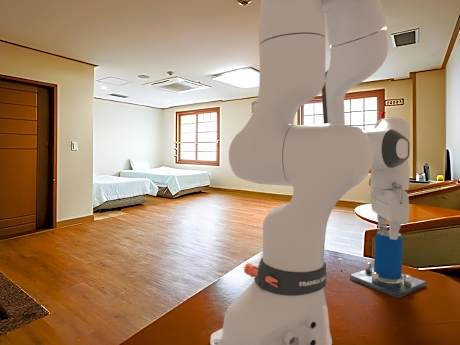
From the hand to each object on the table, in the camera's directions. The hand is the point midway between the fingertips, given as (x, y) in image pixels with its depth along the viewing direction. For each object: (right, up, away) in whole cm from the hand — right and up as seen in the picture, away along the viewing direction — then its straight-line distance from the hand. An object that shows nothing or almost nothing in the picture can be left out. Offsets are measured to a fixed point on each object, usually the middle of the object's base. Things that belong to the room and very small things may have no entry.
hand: (387, 234), depth 78 cm
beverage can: (+1, -12, +1) cm, 12 cm away
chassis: (+1, -13, +1) cm, 13 cm away
